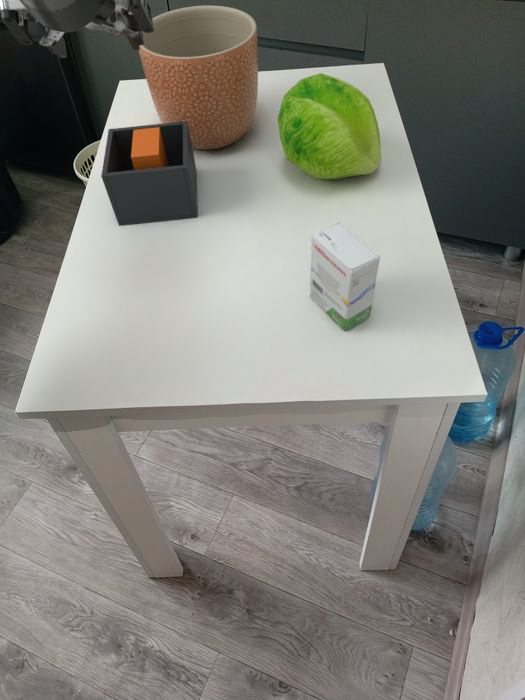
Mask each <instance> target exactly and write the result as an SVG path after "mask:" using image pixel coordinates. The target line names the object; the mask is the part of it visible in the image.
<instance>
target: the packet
mask: <svg viewBox="0 0 525 700" xmlns="http://www.w3.org/2000/svg"><path fill="white" fill-rule="evenodd" d="M131 159H132V162H133V166H134V169H135V170H140V169H150V168H160V167H169V166H168V161H167V157H166V153H165V148H164V144H163V140H162V135H161V131H160V127H156V128H147V129H137V130H133V141H132V152H131Z"/></svg>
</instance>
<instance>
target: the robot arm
mask: <svg viewBox="0 0 525 700" xmlns="http://www.w3.org/2000/svg"><path fill="white" fill-rule="evenodd" d="M28 14H29V16H30V17H31V18H32V19H34V20H35V21H31V20H30V18H29V17H28ZM0 17H1V22H2V23H3V24H4V25H5V26H6V28H7V29H8V30H9V32H11V33H12V35H13V36H14V37H15V39H16V40H17V41H18V42H19V44H21V45H22V46H31V45H33V44H34V43H33V42H39V43H38V44H39V45H40V46H41V47H46V48H47V49H48V50H49V52H50V53H51V54H54V55H57V56H58V57H59V59H66V58H68V55H67V46H66V41H65V38H64V37H63V36H64V35H65V33H66V34H67V33H72V32H76V31H81V30H91V31H95V30H98V31H100V32H102V33H106V34H108V35H110V36H113V37H115V36H117V35H119V34H121V35H123V36H126V38H127V41H128V42H129V44H130V46H131V48H132V50H133V51H134V52H135V51H139V50H140V45H143V44H144V40H143V32H145V33H152V32H153V31H154V27H153V12H152V6H151V3H150V1H149V0H0ZM123 18H124V21H123ZM142 31H143V32H142Z"/></svg>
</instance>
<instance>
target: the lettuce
mask: <svg viewBox="0 0 525 700" xmlns="http://www.w3.org/2000/svg"><path fill="white" fill-rule="evenodd" d="M277 126H278V133H279V140H280V143H281V146H282V149H283V153H284V156H285V158H286V159H287V160H288V161H289V162H291V163H292V164H293V165H295V166H296V167H297V168H298V169H300V170H301V171H302V172H303V173H305V174H307V175H309V176H311V177H312V178H315V179H317V180H318V179H320V180H338V179H344V178H348V177H357V176H364V175H365V176H366V175H370V174H372V173H374V172H376V170H377V169H378V168H379V166H380V164H381V162H382V144H381V134H380V128H379V123H378V119H377V116H376V112H375V109H374V107H373V105H372V103H371V101H370V99H369V98H368V97H367V96H366V95H365V93H363V92H362V91H361V89H360V88H358V87H356V86H354V85H353V84H351V83H349V82H347V81H345V80H342V79H341V78H338V77H334V76H332V75H331V76H330V75H328V74H325V73H323V72H322V73H321V72H320V73H317V74H313V75H310V76H307V77H305V78H301V79H300V80H299V81H297V83H296V84H295V85H293V86H292V87H291V88H290V89H289V90H288V91H287V92H286V93H284V95H283V97H282V101H281V105H280V108H279V112H278V117H277Z"/></svg>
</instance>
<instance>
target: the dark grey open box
mask: <svg viewBox="0 0 525 700" xmlns="http://www.w3.org/2000/svg"><path fill="white" fill-rule="evenodd" d="M156 127H160V131H161V135H162V140H163V144H164V148H165V153H166V157H167V161H168V166H169V167H160V168H150V169H140V170H135V169H134V166H133V162H132V159H131V152H132V141H133V130H137V129H147V128H156ZM106 137H107V138H106V143H105V150H104V157H103V163H102V170H101V175H100V176H101V179H102V183H103V185H104V188H105V190H106V193H107V196H108V199H109V202H110V205H111V207H112V210H113V213H114V217H115V219H116V221H117V224H118V226H127V225H139V224H148V223H155V222H156V223H157V222H166V221H177V220H185V219H193V218H196V219H197V218H199V215H198V214H199V211H198V209H199V207H198V206H199V205H198V179H197V178H198V174H197V173H198V172H197V167H196V160H195V155H194V150H193V149H194V148H192V143H191V138H190V132H189V127H188V121H183V122H174V123H164V124H162V123H156V124H155V123H154V124H147V125H146V124H145V125H136V126H126V127H117V128H108V131H107V136H106Z"/></svg>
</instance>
